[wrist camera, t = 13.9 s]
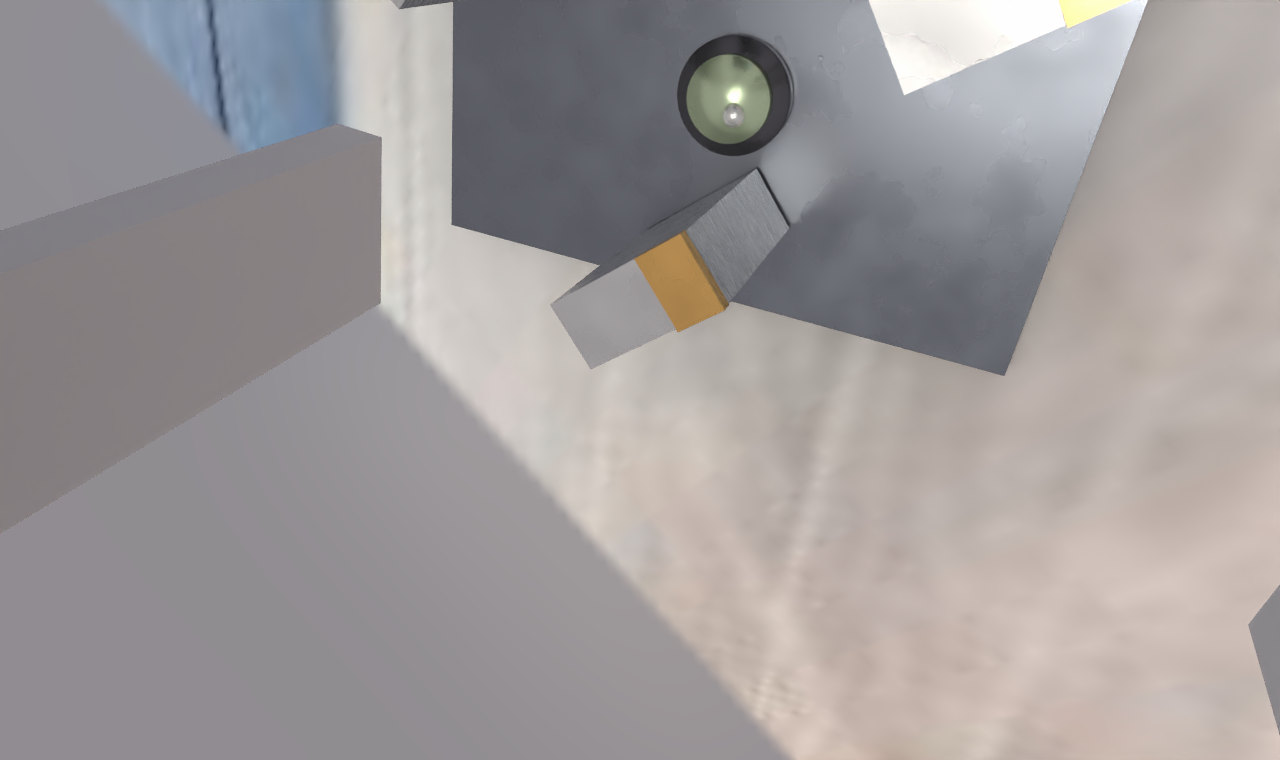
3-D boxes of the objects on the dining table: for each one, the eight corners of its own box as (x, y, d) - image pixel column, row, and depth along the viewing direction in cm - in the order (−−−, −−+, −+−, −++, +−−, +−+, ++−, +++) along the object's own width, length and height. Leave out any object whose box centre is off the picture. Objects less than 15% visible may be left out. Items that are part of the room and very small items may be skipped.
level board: (469, -198, 40) (430, -207, 37) (1185, -111, 32) (1198, -114, 29) (463, 218, 50) (432, 234, 47) (1005, 365, 42) (1003, 393, 39)
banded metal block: (639, 232, 44) (544, 308, 36) (755, 167, 41) (680, 233, 32) (672, 288, 45) (586, 375, 36) (789, 229, 41) (724, 310, 33)
